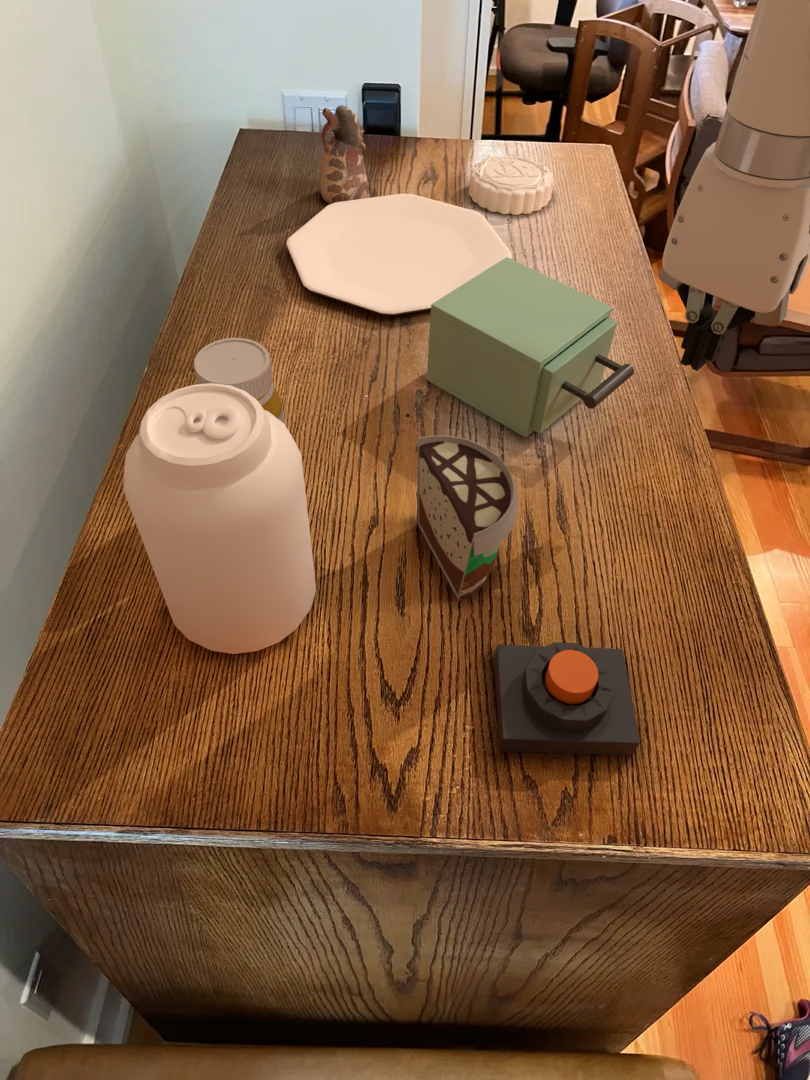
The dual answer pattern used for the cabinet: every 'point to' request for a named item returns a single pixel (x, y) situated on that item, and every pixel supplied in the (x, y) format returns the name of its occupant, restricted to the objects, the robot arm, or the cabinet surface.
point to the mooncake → (510, 185)
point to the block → (562, 704)
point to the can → (223, 517)
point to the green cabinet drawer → (578, 376)
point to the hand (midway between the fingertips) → (696, 360)
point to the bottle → (240, 370)
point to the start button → (571, 677)
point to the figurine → (342, 158)
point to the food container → (463, 507)
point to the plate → (393, 251)
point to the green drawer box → (505, 338)
